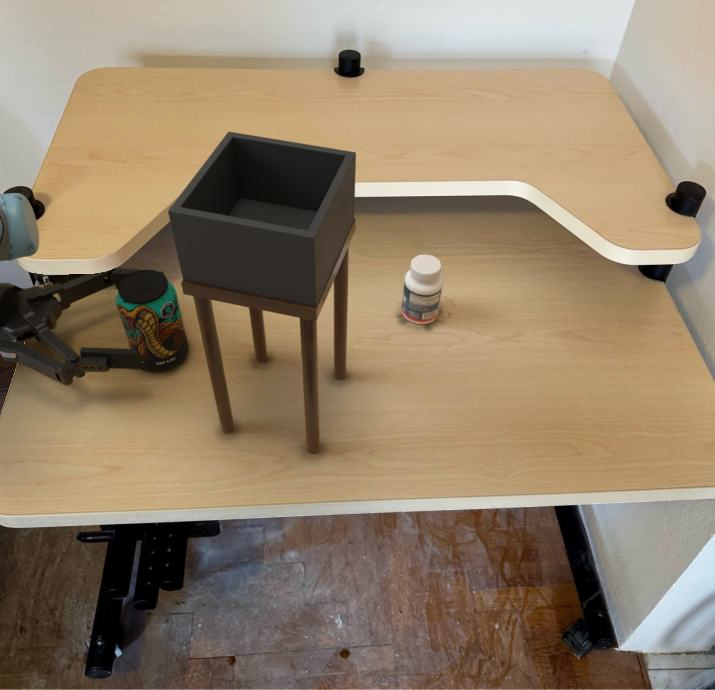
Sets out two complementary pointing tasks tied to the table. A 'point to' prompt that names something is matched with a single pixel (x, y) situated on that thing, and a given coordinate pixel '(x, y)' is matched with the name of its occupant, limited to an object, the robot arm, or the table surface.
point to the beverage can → (152, 319)
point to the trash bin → (266, 217)
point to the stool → (256, 308)
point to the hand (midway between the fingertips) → (153, 318)
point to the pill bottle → (422, 290)
